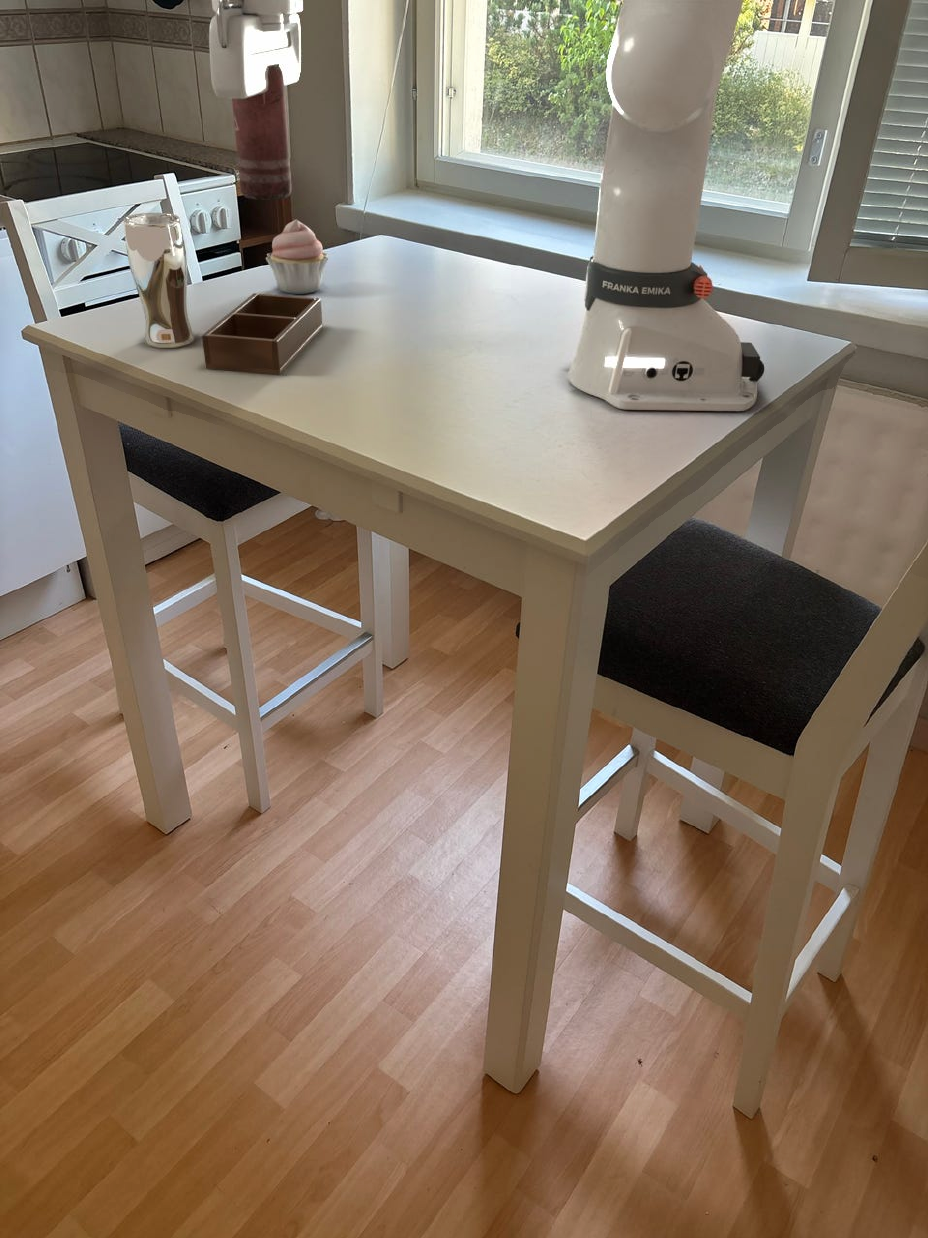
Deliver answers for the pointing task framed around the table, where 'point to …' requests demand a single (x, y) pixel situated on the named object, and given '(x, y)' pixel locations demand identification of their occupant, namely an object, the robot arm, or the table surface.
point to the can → (263, 141)
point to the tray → (263, 334)
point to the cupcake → (297, 259)
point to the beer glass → (160, 276)
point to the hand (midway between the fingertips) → (263, 134)
